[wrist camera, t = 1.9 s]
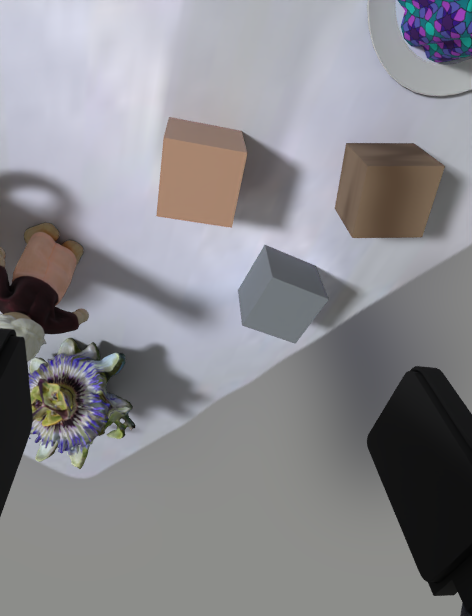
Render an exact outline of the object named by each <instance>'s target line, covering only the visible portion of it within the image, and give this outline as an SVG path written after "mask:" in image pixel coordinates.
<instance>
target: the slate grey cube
mask: <svg viewBox="0 0 472 616" xmlns="http://www.w3.org/2000/svg"><path fill="white" fill-rule="evenodd" d="M238 294H239V302H240V311H241V320H242V325H243V326H245V327H248V328H251V329H254V330H257V331H260V332H263V333H266V334H269V335H272V336H275V337H278V338H281V339H283V340H286V341H289V342H292V343H295V344H296V342H297V341H298V340H299V338H300V337H301V336H302V334H303V333H304V332H305V330H306V329H307V328H308V326H309V325H310V324H311V322H312V321H313V320H314V318H315V317H316V316H317V314H318V313H319V312H320V310H321V309H322V308H323V306H324V305H325V304H326V302H327V301H328V300H329V298H328V296H327V294H326V291H325V289H324V286H323V284H322V281H321V279H320V276H319V274H318V271H317V269H316V266H315V265H312V264H310V263H307V262H305V261H303V260H300V259H298V258H295V257H293V256H291V255H288V254H286V253H283V252H281V251H279V250H276V249H274V248H271V247H269V246H267V245H264V247H263V249H262V250H261V252H260V254H259V256H258V257H257V259H256V261H255V262H254V264H253V266H252V267H251V269H250V271H249V272H248V274H247V276H246V278H245V279H244V281H243V283H242V284H241V286H240V288H239V289H238Z"/></svg>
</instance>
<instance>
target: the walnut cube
mask: <svg viewBox="0 0 472 616" xmlns="http://www.w3.org/2000/svg"><path fill="white" fill-rule="evenodd" d="M444 168H445V166H444V165H443V164H441V163H440V162H439V161H437V160H436V159H434V158H433V157H432V156H430V155H429V154H428V153H426V152H425V151H424V150H422V149H421V148H419V147H418V146H417V145H415V144H414V143H346V148H345V154H344V159H343V165H342V171H341V176H340V182H339V188H338V193H337V199H336V205H335V210H336V211H337V213H338V215H339V216H340V218H341V220H342V221H343V223H344V225H345V226H346V228H347V230H348V231H349V233H350V235H351V237H352V238H402V237H422V236H423V233H424V230H425V226H426V223H427V220H428V217H429V214H430V211H431V208H432V205H433V202H434V199H435V196H436V192H437V189H438V186H439V183H440V180H441V177H442V174H443V171H444Z"/></svg>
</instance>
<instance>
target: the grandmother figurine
mask: <svg viewBox="0 0 472 616" xmlns="http://www.w3.org/2000/svg"><path fill="white" fill-rule="evenodd" d="M58 238H59V231H58V230H57V229H56V228H55V227H54V226H53V225H52V224H50V223H42V224H39V225H37V226H34V227H31V228H29V229H27V230H26V231H25V233H24V239H25V241H26V243H27V245H26V247H25V250H24V252H23V253H22V255H21V257H20V259H19V261H18V263H17V265H16V267H15V270H14V272H13V280H12V285H11V286H10V285H9V281H8V275H7V272H6V269H5V261H4V258H5V251H4V250H3V249H2V248H1V247H0V311H1V312H2V313H3V315H2V314H0V328H4V329H13V330H15V332H16V336H19V337H24V339H25V346H26V355H27V361H29V360H31V359H32V358H34V357H35V356H36V354H37V353H38V352H39V351H40V348H41V346H42V345H43V344H46V341H45V339H44V336H45V334H60V333H65V332H69V331H74V330H76V329H78V327H79V325H80V324H81V323H83V322H85V321H87V320H88V317H89V314H88V312H87V311H86V310H85V309H78V310H76V311H75V312H72V313H71V312H67V311H64V310H61V309H59V308H57V307H55V306H56V305H57V304H58V303H59V302H60V301H61V300H62V298H63V296H64V294H65V293H66V290H67V288H68V287H69V285H70V283H71V280H72V276H73V273H74V270H75V268H76V265H77V264H78V262H79V260H80V258H81V256H82V254H83V248H82V246H81V245H80V244H78V243H77V242H75V241H71V240H69V241H66V242H64V243H63V244H62V245H60V244H58V243H55V241H56V240H57V239H58Z"/></svg>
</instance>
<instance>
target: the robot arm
mask: <svg viewBox="0 0 472 616" xmlns="http://www.w3.org/2000/svg"><path fill="white" fill-rule="evenodd" d="M32 422H33V414H32V404H31V394H30V385H29V375H28V365H27V355H26V346H25V339H24V337H19V336H16V332H15V330H13V329H4V328H0V516H1V513H2V510H3V508H4V505H5V502H6V499H7V496H8V494H9V491H10V488H11V485H12V482H13V480H14V477H15V474H16V471H17V468H18V465H19V463H20V460H21V457H22V455H23V452H24V449H25V446H26V443H27V441H28V438H29V435H30V432H31V428H32ZM367 446H368V449H369V452H370V454H371V456H372V459H373V461H374V464H375V466H376V469H377V471H378V474H379V476H380V478H381V481H382V483H383V486H384V488H385V490H386V493H387V495H388V497H389V500H390V502H391V505H392V507H393V510H394V512H395V515H396V517H397V519H398V522H399V524H400V527H401V529H402V531H403V534H404V536H405V539H406V541H407V544H408V546H409V548H410V551H411V553H412V556H413V558H414V561H415V563H416V565H417V568H418V570H419V572H420V574H421V576H422V578H423V579H424V580H425V581H427V582H428V583H429V586H430V588H431V591H432V593H433V595H434V596H442V595H443V596H444V595H455V594H456V593H457V592H458V593H459V595H460V598H461V600H462V602H463V603H462V609H461V615H460V616H472V414H471V413H470V411H469V410H468V409H467V407H466V405H465V404H464V403H463V401H462V400H461V398H460V397H459V395H458V394H457V393H456V391H455V390H454V388H453V387H452V385H451V384H450V383H449V381H448V380H447V378H446V377H445V376H444V374H443V373H442V372H441V370H439V369H437V368H430V367H419V366H415V367H414V368H412V369H411V370H410V371H408V372H406V374H405V375H404V377H403V379H402V380H401V382H400V383H399V385H398V386H397V388H396V390H395V391H394V393H393V395H392V396H391V398H390V400H389V401H388V403H387V405H386V406H385V408H384V410H383V411H382V413H381V415H380V416H379V418H378V420H377V421H376V423H375V425H374V426H373V428H372V429H371V431H370V433H369V435H368V438H367Z"/></svg>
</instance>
